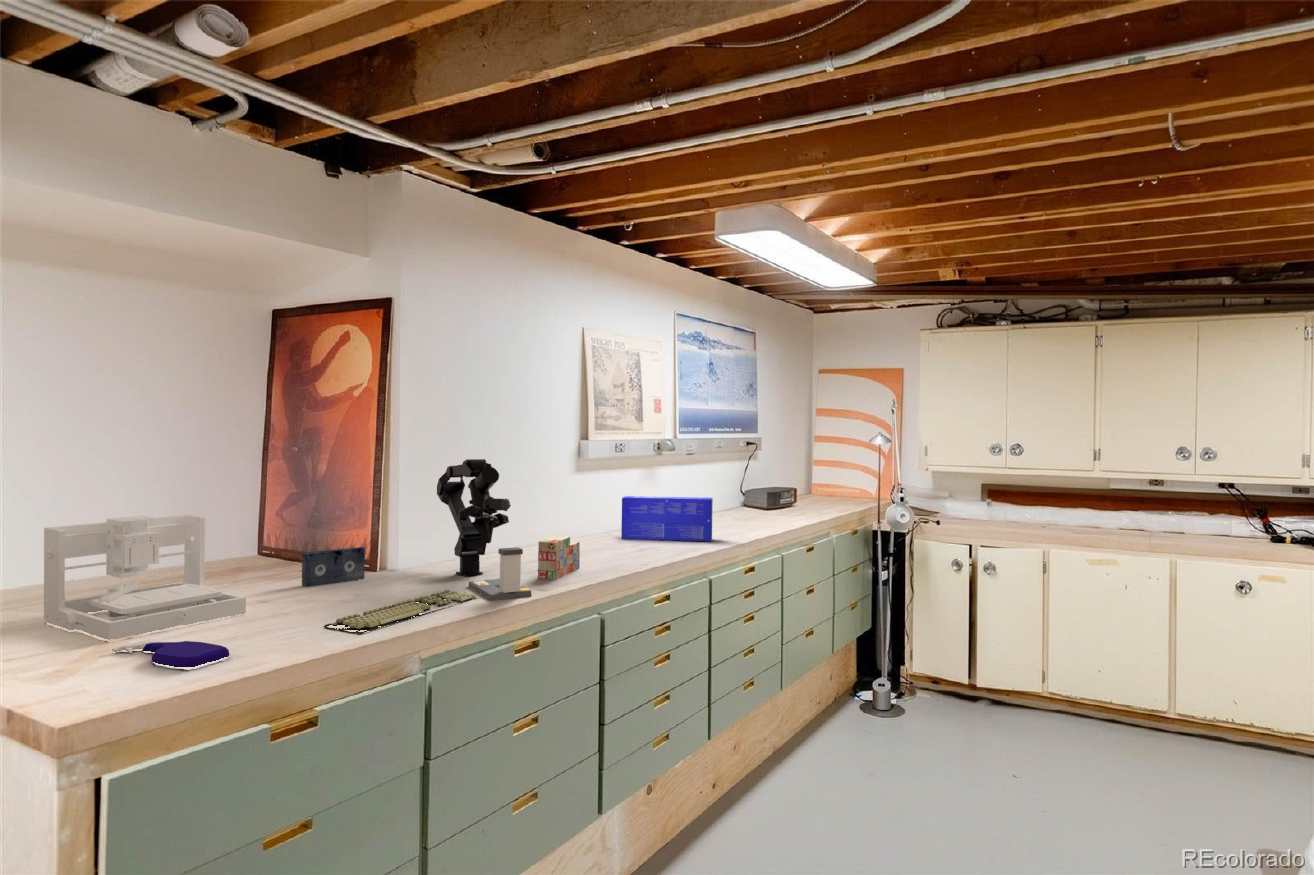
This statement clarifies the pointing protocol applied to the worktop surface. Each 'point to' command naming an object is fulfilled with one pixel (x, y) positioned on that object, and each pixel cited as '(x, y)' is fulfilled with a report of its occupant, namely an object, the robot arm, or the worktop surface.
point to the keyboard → (398, 611)
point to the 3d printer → (129, 556)
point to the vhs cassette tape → (332, 566)
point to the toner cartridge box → (667, 518)
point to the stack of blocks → (557, 557)
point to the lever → (510, 569)
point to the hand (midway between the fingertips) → (488, 542)
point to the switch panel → (496, 589)
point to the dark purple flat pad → (179, 652)
